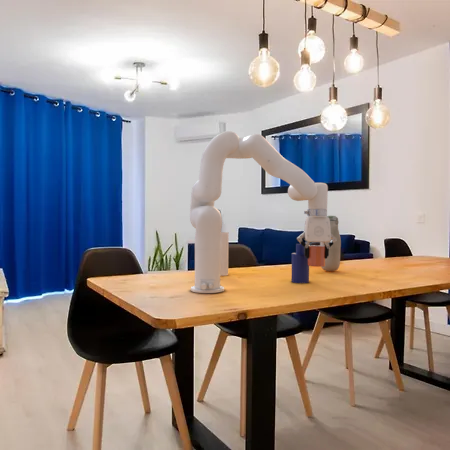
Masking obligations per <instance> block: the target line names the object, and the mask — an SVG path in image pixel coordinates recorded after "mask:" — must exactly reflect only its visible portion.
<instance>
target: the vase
mask: <svg viewBox="0 0 450 450" xmlns="http://www.w3.org/2000/svg"><path fill="white" fill-rule="evenodd" d="M228 275H229V232H228V231H221V238H220V277H221V276H222V277H223V276H228Z"/></svg>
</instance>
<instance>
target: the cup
mask: <svg viewBox="0 0 450 450" xmlns="http://www.w3.org/2000/svg"><path fill="white" fill-rule="evenodd" d="M308 248H309V258H308V261H307V265H308V266H309V267H318V268H322V266H325V246H321V245H320V244H319V245H317V244H309V246H308Z"/></svg>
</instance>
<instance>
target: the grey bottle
mask: <svg viewBox="0 0 450 450" xmlns="http://www.w3.org/2000/svg"><path fill="white" fill-rule="evenodd" d="M327 218H329V220H330V230H331V234H332V235H333V236H334V237H335V238H336V239H337V240H336V242H335V243H334V244H333V245H332V246H331V247H330V248H329V256H327V259H325V266H322V267H321V269H322V270H323V271H325V272H336V271H338V270H339V268H340V265H341V247H342V240H341V239H342V238H341V235H340V230H339V218H338V216H336V215H327ZM331 240H332V239H331ZM331 240H330V241H329V242H331ZM329 242H328V243H329ZM319 245H321V246H324V243H323V242H319Z"/></svg>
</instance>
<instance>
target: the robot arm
mask: <svg viewBox="0 0 450 450" xmlns="http://www.w3.org/2000/svg"><path fill="white" fill-rule="evenodd" d="M226 159H236V160H237V159H239V160H241V159H253V160H254V161H255V162H256V163H257V164H258V165H259V166H260V167H261V168H262V169H263V170H264V171H265V172H266V173H267V174H268V175H269V176H271V177H274V178H276V179H280V180H282V181H283V182H286V183H287V184H289V186H288V188H287V195H288V197H289V198H290V199H291V200H293V201H297V202H302V201H307V209H306V210H304V213H303V214H304V215H307V216H306V218H305V220H304V229H303V232H302V233H301V234H300V235H299V236H297V237H296V240H297V242H299V244H301V245H302V246H303V247H304V256H306V258H309V248H308V246H309V245H311V243H320V242H323V243H324V246H325V259H327V256H329V248H330V247H331V246H332V245H333V244H334V243H335V242H336V240H337V239H336V238H335V237H334V236H333V235H332V234H331V230H330V220H329V218H327V216H328V197H329V195H328V194H329V193H328V191H329V186H328V184H327V183H325V182H315V181H314V179H312V178H311V177H310V176H309V175H308V174H307V173H306V172H305V171H304V170H303V169H302V168H300V167H299V166H297V165H296V164H295V163H292V162H291V161H290V160H288V159H286V158H285V157H283V155H281V153H280V152H279V151H277V149H276V148H275V147H274V146H273V145H272V144H271V143H270V142H269V141H268V140H267V138H265V136H263V135H262V134H260V133H252V134H249V135H247V136H245V137H244V136H243V137H240V136H239V135H238V134H237V133H236V132H235V131H233V130H225V131H223V132H220V133H218V134H216V135H215V136H214V137H212V138H211V139H210V140H209V142H208V143H207V144H206V146H205V147H204V150H203V152H202V154H201V159H200V166H199V175H198V180H196V181H195V182H194V184H193V185H192V187H191V192H190V193H191V194H190V204H189V205H190V206H189V207H190V208H189V222H190V224H191V226H192V227H193V228H194V229H195V233H194V234H195V235H194V285H193V286H192V285H191V287H190V292H193V293H196V294H218V293H222V292H224V291H225V287H224V286H222V285H221V276H220V238H221V232H222V227H223V217H222V214H221V212H220V210H219V209H218V208H217V207H215V202H216V201H218V200H219V198H220V197H221V195H222V188H223V187H222V185H223V173H224V172H223V171H224V165H225V162H226ZM331 239H332V240H331ZM303 240H304V241H305V242H304V241H303ZM330 240H331V242H329V241H330ZM328 242H329V243H328Z"/></svg>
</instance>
